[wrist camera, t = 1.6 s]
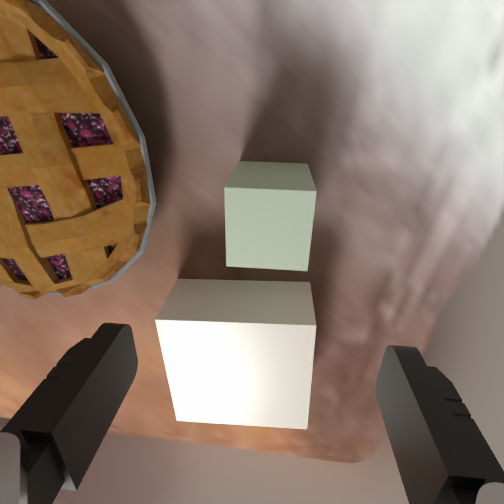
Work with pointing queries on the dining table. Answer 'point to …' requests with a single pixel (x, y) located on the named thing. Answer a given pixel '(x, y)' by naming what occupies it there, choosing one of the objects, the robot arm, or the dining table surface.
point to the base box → (239, 351)
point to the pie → (65, 160)
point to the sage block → (269, 215)
